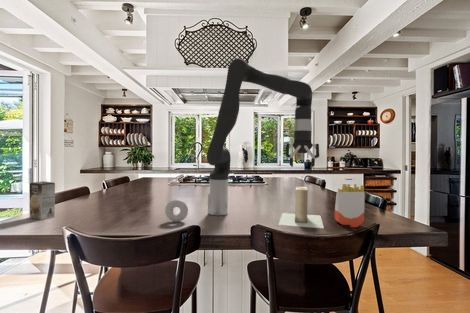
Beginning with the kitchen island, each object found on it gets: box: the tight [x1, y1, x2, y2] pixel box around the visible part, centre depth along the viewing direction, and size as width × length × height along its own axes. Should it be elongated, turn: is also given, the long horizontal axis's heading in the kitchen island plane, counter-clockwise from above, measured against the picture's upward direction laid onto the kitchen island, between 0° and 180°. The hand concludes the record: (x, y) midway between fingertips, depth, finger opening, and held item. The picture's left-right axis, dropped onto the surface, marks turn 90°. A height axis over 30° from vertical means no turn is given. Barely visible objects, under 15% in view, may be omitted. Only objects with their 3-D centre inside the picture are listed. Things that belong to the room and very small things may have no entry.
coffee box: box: [29, 181, 56, 221], centre depth 125 cm, size 9×6×16 cm
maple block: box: [294, 186, 309, 223], centre depth 122 cm, size 5×14×10 cm
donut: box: [164, 198, 189, 223], centre depth 120 cm, size 10×4×10 cm, turn 89°
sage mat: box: [278, 212, 325, 229], centre depth 122 cm, size 18×22×1 cm
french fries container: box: [334, 183, 366, 228], centre depth 117 cm, size 5×11×18 cm, turn 91°
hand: (301, 167), depth 121 cm, fingers open, 8 cm apart
